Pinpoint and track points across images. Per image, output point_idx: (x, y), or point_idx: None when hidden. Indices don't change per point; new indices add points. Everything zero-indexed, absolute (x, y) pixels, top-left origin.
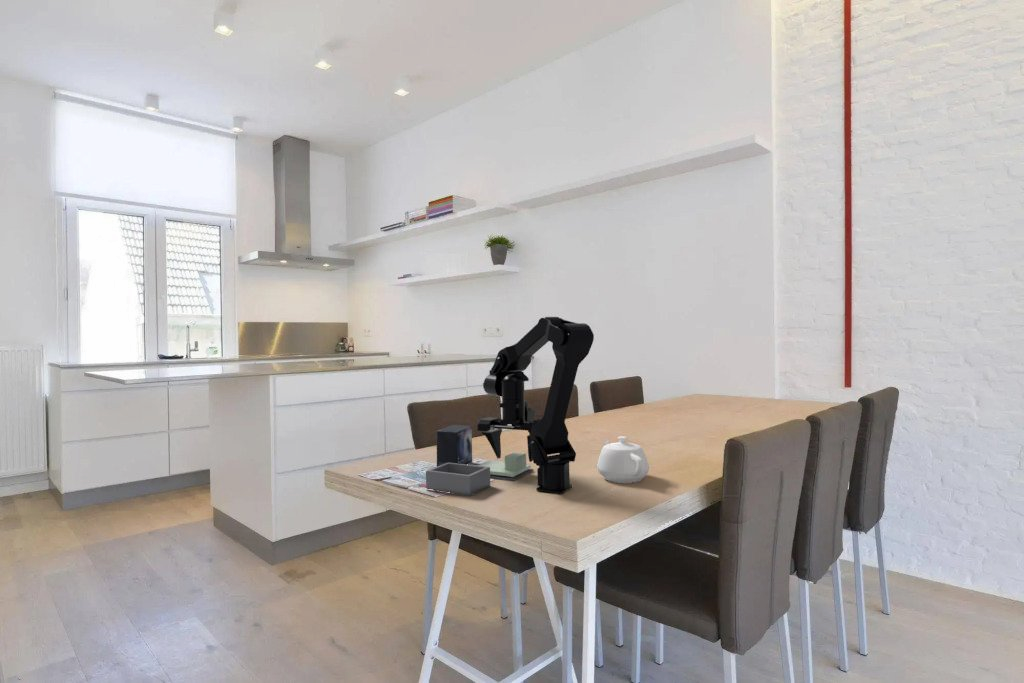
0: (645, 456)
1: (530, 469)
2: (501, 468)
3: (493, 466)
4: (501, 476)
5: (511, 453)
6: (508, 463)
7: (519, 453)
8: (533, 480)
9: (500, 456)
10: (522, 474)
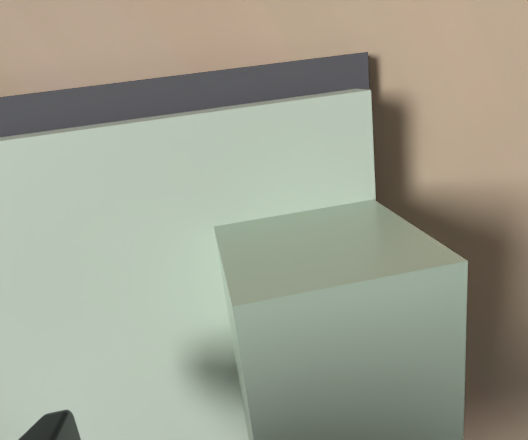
0: None
1: (347, 85)
2: (168, 394)
3: (21, 384)
4: None
5: (255, 398)
6: None
7: (374, 327)
8: (504, 333)
9: (68, 424)
10: None
